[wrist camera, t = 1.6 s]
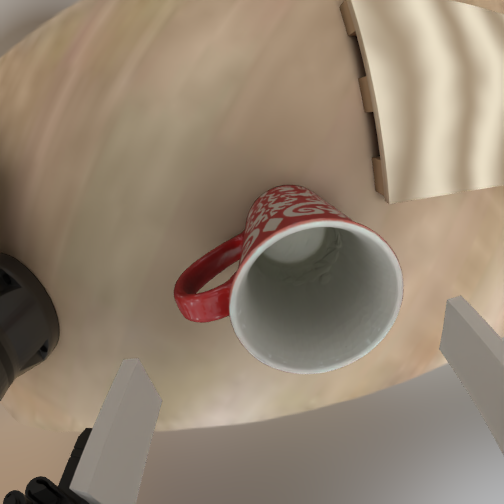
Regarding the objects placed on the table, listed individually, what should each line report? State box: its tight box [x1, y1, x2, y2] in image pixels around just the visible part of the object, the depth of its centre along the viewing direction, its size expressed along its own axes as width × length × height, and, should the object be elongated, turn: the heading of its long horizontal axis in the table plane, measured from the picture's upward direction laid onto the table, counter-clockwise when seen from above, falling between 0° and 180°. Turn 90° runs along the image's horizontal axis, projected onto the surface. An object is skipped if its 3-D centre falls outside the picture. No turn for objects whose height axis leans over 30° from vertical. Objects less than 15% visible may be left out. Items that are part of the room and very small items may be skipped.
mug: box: [174, 185, 404, 374], centre depth 21 cm, size 13×9×14 cm
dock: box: [340, 0, 504, 204], centre depth 21 cm, size 18×18×3 cm
